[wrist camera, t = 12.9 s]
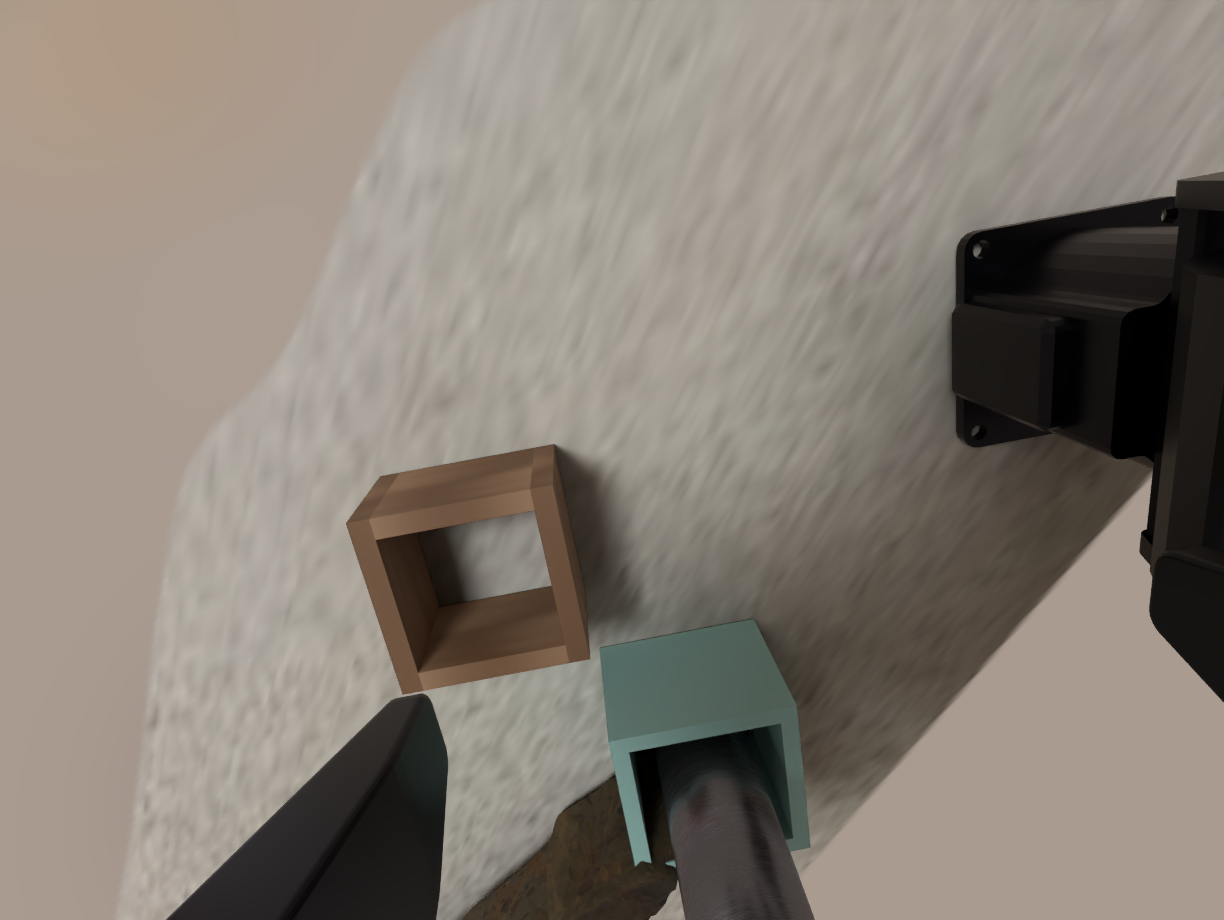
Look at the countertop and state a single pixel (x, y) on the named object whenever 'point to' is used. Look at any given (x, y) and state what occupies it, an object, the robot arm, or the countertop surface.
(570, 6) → the countertop surface
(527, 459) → the socket block
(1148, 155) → the countertop surface
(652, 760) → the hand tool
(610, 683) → the hollow teal block
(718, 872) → the stepped grey cylinder
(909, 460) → the countertop surface
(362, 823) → the robot arm
